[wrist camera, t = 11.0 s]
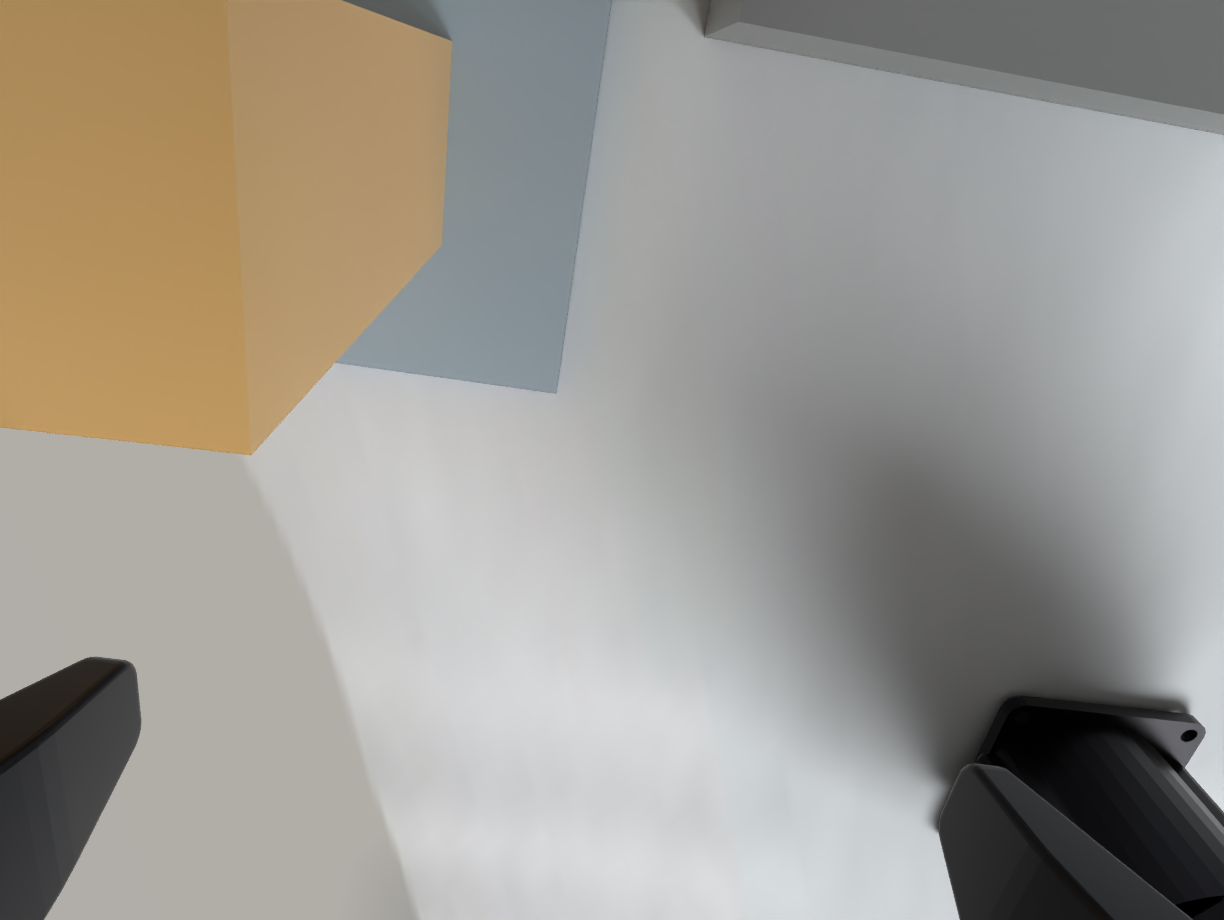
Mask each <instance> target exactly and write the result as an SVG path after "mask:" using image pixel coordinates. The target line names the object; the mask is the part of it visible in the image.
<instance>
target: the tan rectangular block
mask: <svg viewBox="0 0 1224 920" xmlns="http://www.w3.org/2000/svg"><path fill="white" fill-rule="evenodd" d="M451 54H452V41H450V40H448V39H445V38H442V37H440V36H437V35H434V34H431V33H429V32H426V31H423V30H421V29H418V28H415V27H413V26H410V25H407V24H404V23H402V22H399V21H396V20H394V19H391V18H388V17H386V16H383V15H380V14H377V13H375V12H372V11H369V10H367V9H364V8H361V7H359V6H356V5H353V4H350V3H348V2H345V1H342V0H0V427H1V428H11V429H19V430H28V431H37V432H46V433H55V434H64V435H74V436H82V437H91V438H101V439H110V440H119V441H128V442H137V443H146V444H155V445H165V446H173V447H183V448H191V449H200V450H210V451H218V452H227V453H236V454H245V455H252V454H253V453H254V451H255V450H256V449H257V448H258V447H259V446H260V445H261V444H262V443H263V442H264V440H265V439H266V438H267V437H268V436H269V435H270V434H271V433H272V432H273V431H274V429H275V428H276V427H277V426H278V425H279V424H280V423H281V422H282V421H283V420H284V418H285V417H286V416H287V415H288V414H289V413H290V412H291V411H292V410H293V409H294V407H295V406H296V405H297V404H298V403H299V402H300V401H301V400H302V399H303V398H304V396H305V395H306V394H307V393H308V392H309V391H310V390H311V389H312V388H313V387H314V385H315V384H316V383H317V382H318V381H319V380H320V379H321V378H322V377H323V375H324V374H325V373H326V372H327V371H328V370H329V369H330V368H331V367H332V366H333V364H334V363H335V362H336V361H337V360H338V359H339V358H340V357H341V356H342V355H343V353H344V352H345V351H346V350H347V349H348V348H349V347H350V346H351V345H352V344H353V342H354V341H355V340H356V339H357V338H358V337H359V336H360V335H361V334H362V333H363V331H364V330H365V329H366V328H367V327H368V326H369V325H370V324H371V323H372V322H373V320H374V319H375V318H376V317H377V316H378V315H379V314H380V313H381V312H382V311H383V309H384V308H385V307H386V306H387V305H388V304H389V303H390V302H391V301H392V299H393V298H394V297H395V296H396V295H397V294H398V293H399V292H400V291H401V290H402V288H403V287H404V286H405V285H406V284H407V283H408V282H409V281H410V280H411V279H412V277H413V276H414V275H415V274H416V273H417V272H418V271H419V270H420V269H421V268H422V266H423V265H424V264H425V263H426V262H427V261H428V260H429V259H430V258H431V257H432V255H433V254H434V253H435V252H436V251H437V250H438V249H439V248H440V247H441V246H442V234H443V214H444V194H445V174H446V154H447V134H448V114H449V94H450V74H451Z"/></svg>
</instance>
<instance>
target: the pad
mask: <svg viewBox="0 0 1224 920" xmlns="http://www.w3.org/2000/svg"><path fill="white" fill-rule="evenodd" d="M342 1H345V2H348V3H350V4H353V5H356V6H359V7H361V8H364V9H367V10H369V11H372V12H375V13H377V14H380V15H383V16H386V17H388V18H391V19H394V20H396V21H399V22H402V23H404V24H407V25H410V26H413V27H415V28H418V29H421V30H423V31H426V32H429V33H431V34H434V35H437V36H440V37H442V38H445V39H448V40H450V41H452V54H451V74H450V94H449V114H448V134H447V154H446V174H445V194H444V214H443V234H442V246H441V247H440V248H439V249H438V250H437V251H436V252H435V253H434V254H433V255H432V257H431V258H430V259H429V260H428V261H427V262H426V263H425V264H424V265H423V266H422V268H421V269H420V270H419V271H418V272H417V273H416V274H415V275H414V276H413V277H412V279H411V280H410V281H409V282H408V283H407V284H406V285H405V286H404V287H403V288H402V290H401V291H400V292H399V293H398V294H397V295H396V296H395V297H394V298H393V299H392V301H391V302H390V303H389V304H388V305H387V306H386V307H385V308H384V309H383V311H382V312H381V313H380V314H379V315H378V316H377V317H376V318H375V319H374V320H373V322H372V323H371V324H370V325H369V326H368V327H367V328H366V329H365V330H364V331H363V333H362V334H361V335H360V336H359V337H358V338H357V339H356V340H355V341H354V342H353V344H352V345H351V346H350V347H349V348H348V349H347V350H346V351H345V352H344V353H343V355H342V356H341V357H340V358H339V359H338V360H337V361H336V362H335V363H341V364H348V365H356V366H363V367H370V368H377V369H384V370H391V371H398V372H406V373H413V374H420V375H427V376H434V377H441V378H448V379H456V380H463V381H470V382H477V383H484V384H491V385H498V386H506V387H513V388H520V389H527V390H534V391H541V392H548V393H555V394H556V393H557V386H558V379H559V372H560V365H561V358H562V350H563V343H564V336H565V329H566V322H567V315H568V308H569V301H570V294H571V286H572V279H573V272H574V265H575V258H576V251H577V244H578V237H579V229H580V222H581V215H582V208H583V201H584V194H585V187H586V180H587V173H588V165H589V158H590V151H591V144H592V137H593V130H594V123H595V116H596V108H597V101H598V94H599V87H600V80H601V73H602V66H603V59H604V52H605V44H606V37H607V30H608V23H609V16H610V9H611V2H612V0H342Z"/></svg>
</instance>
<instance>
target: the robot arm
mask: <svg viewBox="0 0 1224 920" xmlns="http://www.w3.org/2000/svg"><path fill="white" fill-rule="evenodd" d="M1020 712H1021V713H1020ZM1018 713H1020V714H1018ZM1017 714H1018V715H1017ZM140 730H141V712H140V702H139V693H138V682H137V673H136V669H135V667H134V666H133V664H132V663H130V662H128V661H126V660H119V659H111V658H102V657H89V658H86V659H83V660H81V661H79V662H77V663H74V664H72V665H71V666H68V667H66V668H64V669H63V670H60V671H58V672H56V673H54V674H52V675H50V676H48V677H46V678H44V679H42V680H40V681H38V682H36V683H34V684H31V685H29V686H27V687H25V688H23V689H21V690H19V691H17V692H15V693H13V694H11V695H9V696H7V697H5V698H3V699H1V700H0V920H44V919H45V917H46V916H47V914H48V912H49V911H50V909H51V907H52V906H53V904H54V902H55V901H56V899H57V897H58V896H59V894H60V892H61V891H62V889H63V887H64V885H65V883H66V882H67V880H68V878H69V876H70V874H71V872H72V871H73V868H74V866H75V865H76V863H77V861H78V859H79V857H80V855H81V853H82V851H83V849H84V847H85V845H86V843H87V841H88V839H89V837H90V835H91V833H92V831H93V829H94V827H95V825H96V823H97V821H98V819H99V817H100V815H101V813H102V811H103V810H104V807H105V806H106V804H107V802H108V799H109V798H110V796H111V794H112V792H113V790H114V788H115V786H116V784H117V782H118V780H119V778H120V776H121V774H122V772H123V770H124V768H125V766H126V764H127V762H128V760H129V758H130V756H131V754H132V752H133V750H134V748H135V746H136V744H137V741H138V738H139V734H140ZM1205 733H1206V732H1205V728H1204V727H1203V726H1202V725H1201V724H1200V723H1199V722H1198V721H1197V720H1196V719H1195V718H1194V717H1193V716H1192V715H1189V714H1182V713H1172V712H1163V711H1154V710H1145V709H1136V708H1126V707H1117V706H1108V705H1099V704H1090V703H1080V702H1071V701H1062V700H1053V699H1044V698H1034V697H1025V696H1016V697H1013V698H1010V699H1008V700H1007V701H1005V702H1004V703H1003V704H1002V706H1001V707H1000V709H999V711H998V714H997V716H996V718H995V720H994V722H993V724H992V726H991V728H990V730H989V732H988V734H987V737H986V739H985V741H984V743H983V745H982V747H981V749H980V751H979V753H978V755H977V758H976V760H975V762H974V763H972V764H967V765H966V766H965V767H963V768H962V769H961V771H960V773H959V775H958V777H957V779H956V781H955V784H954V786H953V788H952V790H951V792H950V794H949V797H948V799H947V801H946V803H945V805H944V807H943V810H942V812H941V815H940V819H939V836H940V841H941V845H942V849H943V853H944V858H945V862H946V866H947V870H948V874H949V878H950V882H951V886H952V890H953V894H954V898H955V902H956V906H957V910H958V914H959V918H960V920H1224V812H1223V811H1222V810H1221V809H1220V808H1219V806H1218V805H1217V804H1216V803H1215V802H1214V801H1213V800H1212V799H1211V797H1210V796H1209V795H1208V794H1207V793H1206V792H1205V791H1204V790H1203V788H1202V787H1201V786H1200V785H1199V784H1198V783H1197V782H1196V781H1195V779H1194V778H1193V777H1192V776H1191V775H1190V774H1189V773H1188V772H1187V770H1186V769H1185V766H1186V765H1187V763H1188V762H1189V760H1190V759H1191V757H1192V755H1193V754H1194V752H1195V751H1196V749H1197V747H1198V746H1199V744H1200V743H1201V741H1202V739H1203V738H1204V736H1205Z"/></svg>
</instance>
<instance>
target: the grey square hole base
mask: <svg viewBox="0 0 1224 920" xmlns="http://www.w3.org/2000/svg"><path fill="white" fill-rule="evenodd" d="M704 37H707V38H713V39H718V40H723V41H729V42H734V43H739V44H745V45H750V46H755V47H760V48H766V49H771V50H776V51H782V52H787V53H792V54H798V55H803V56H808V57H814V58H819V59H824V60H830V61H835V62H840V63H846V64H851V65H856V66H861V67H867V68H872V69H877V70H883V71H888V72H893V73H899V74H904V75H909V76H915V77H920V78H925V79H931V80H936V81H941V82H946V83H952V84H957V85H962V86H968V87H973V88H978V89H984V90H989V91H994V92H1000V93H1005V94H1010V95H1016V96H1021V97H1026V98H1031V99H1037V100H1042V101H1047V102H1053V103H1058V104H1063V105H1069V106H1074V107H1079V108H1085V109H1090V110H1095V111H1101V112H1106V113H1111V114H1117V115H1122V116H1127V117H1132V118H1138V119H1143V120H1148V121H1154V122H1159V123H1164V124H1170V125H1175V126H1180V127H1186V128H1191V129H1196V130H1202V131H1207V132H1212V133H1217V134H1223V135H1224V0H711V2H710V8H709V13H708V18H707V24H706V29H705V34H704Z"/></svg>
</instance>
